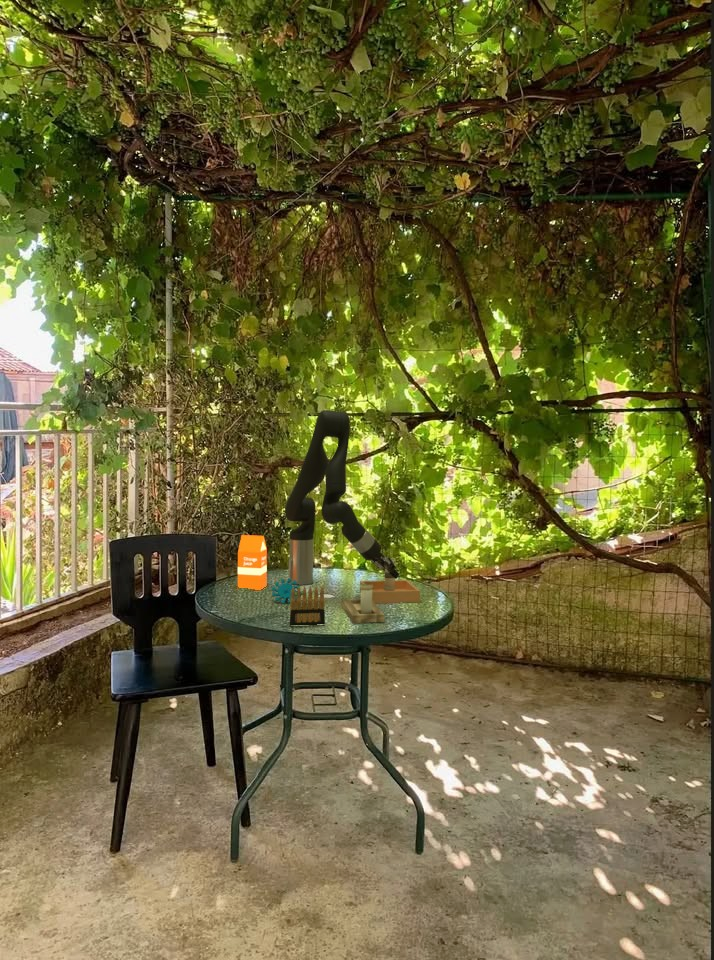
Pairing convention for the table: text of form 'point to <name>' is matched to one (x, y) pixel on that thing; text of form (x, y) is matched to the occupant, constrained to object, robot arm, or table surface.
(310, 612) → the ammunition clip
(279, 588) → the gear
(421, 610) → the table surface
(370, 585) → the fuse
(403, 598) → the parts tray
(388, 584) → the white domed cylinder
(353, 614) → the fuse block
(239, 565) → the orange juice
